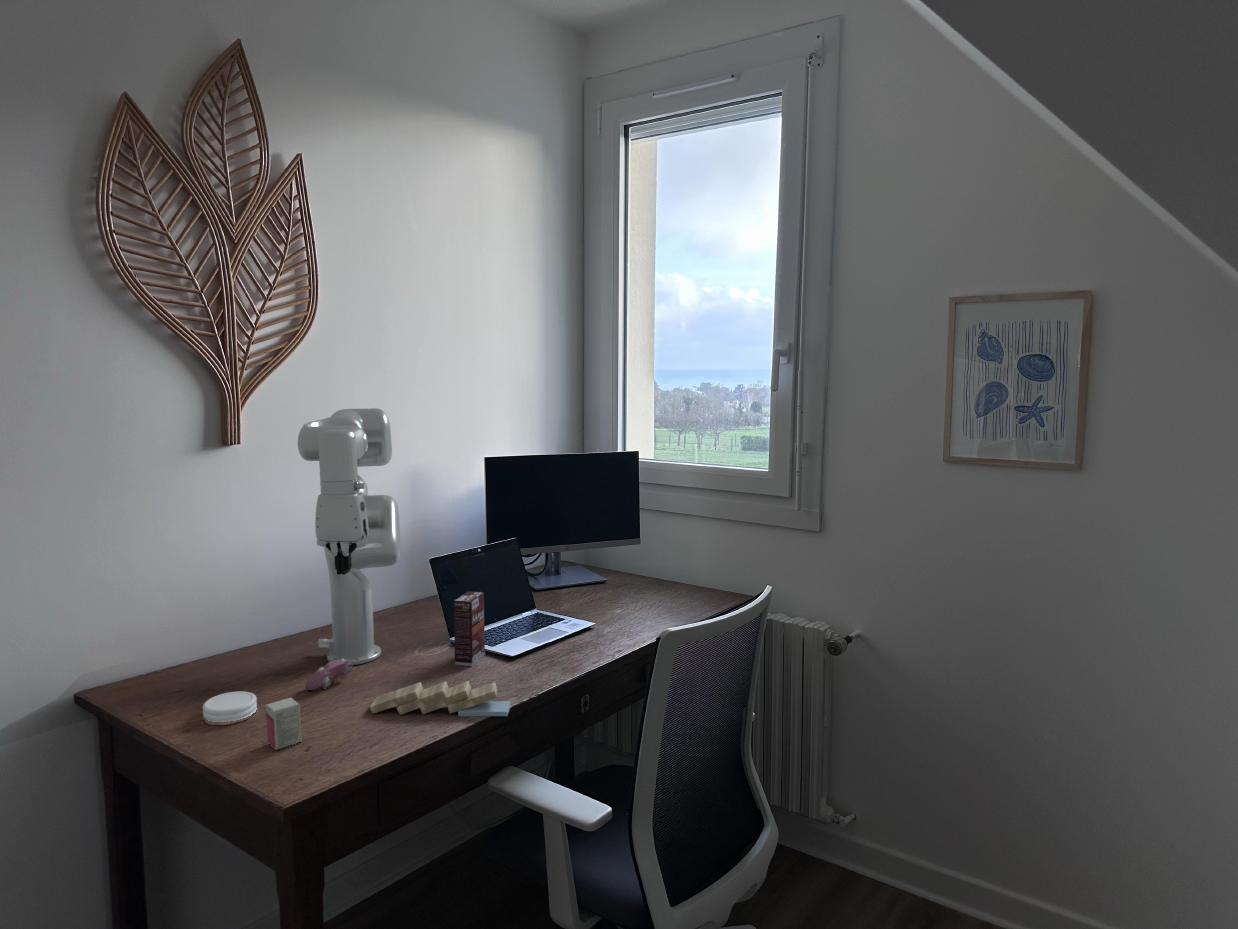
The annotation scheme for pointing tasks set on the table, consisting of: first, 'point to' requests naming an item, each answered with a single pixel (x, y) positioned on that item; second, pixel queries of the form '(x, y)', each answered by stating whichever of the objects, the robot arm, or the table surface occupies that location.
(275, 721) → the small box
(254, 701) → the white round lid
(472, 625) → the supplement box
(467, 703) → the domino
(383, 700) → the domino
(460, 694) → the domino
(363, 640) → the robot arm
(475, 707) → the end domino
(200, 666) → the table surface
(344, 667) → the pink toy car
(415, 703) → the domino
